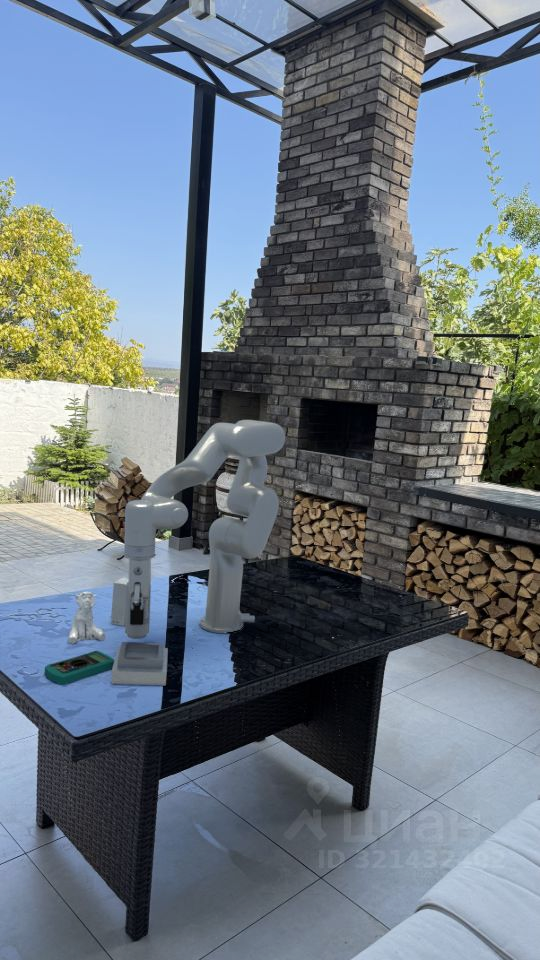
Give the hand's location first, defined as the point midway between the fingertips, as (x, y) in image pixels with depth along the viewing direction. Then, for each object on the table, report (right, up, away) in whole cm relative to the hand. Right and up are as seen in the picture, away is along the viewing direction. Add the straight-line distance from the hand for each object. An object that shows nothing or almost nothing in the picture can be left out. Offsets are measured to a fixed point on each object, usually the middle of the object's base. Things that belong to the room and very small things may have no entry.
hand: (137, 618), depth 160 cm
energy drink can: (0, -5, +1) cm, 5 cm away
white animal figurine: (-15, -6, +5) cm, 17 cm away
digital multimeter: (-10, -9, -15) cm, 20 cm away
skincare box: (-8, -5, +18) cm, 21 cm away
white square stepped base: (+3, -10, -12) cm, 16 cm away
